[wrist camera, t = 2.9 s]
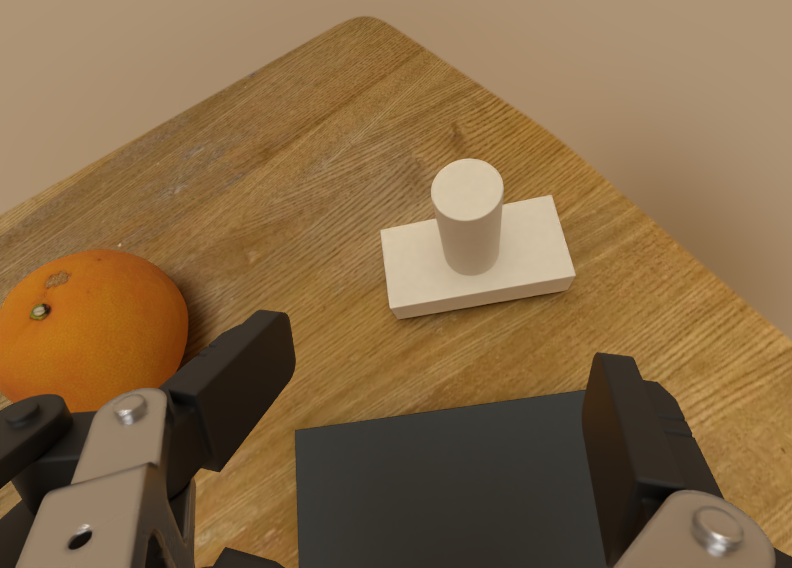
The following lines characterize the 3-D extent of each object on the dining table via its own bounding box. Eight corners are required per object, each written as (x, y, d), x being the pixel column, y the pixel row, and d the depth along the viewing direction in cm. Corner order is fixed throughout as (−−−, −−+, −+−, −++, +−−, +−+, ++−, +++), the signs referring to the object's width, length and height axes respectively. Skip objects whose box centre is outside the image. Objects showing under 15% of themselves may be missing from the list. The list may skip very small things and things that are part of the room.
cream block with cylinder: (544, 220, 26) (574, 113, 17) (565, 294, 24) (610, 215, 16) (390, 250, 28) (346, 165, 19) (400, 322, 26) (356, 265, 17)
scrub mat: (612, 386, 22) (614, 385, 22) (716, 728, 17) (720, 734, 17) (297, 430, 25) (294, 430, 24) (307, 739, 20) (303, 745, 19)
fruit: (232, 281, 29) (148, 230, 22) (184, 438, 26) (66, 440, 19) (114, 269, 32) (2, 219, 24) (56, 410, 29) (-92, 402, 21)
